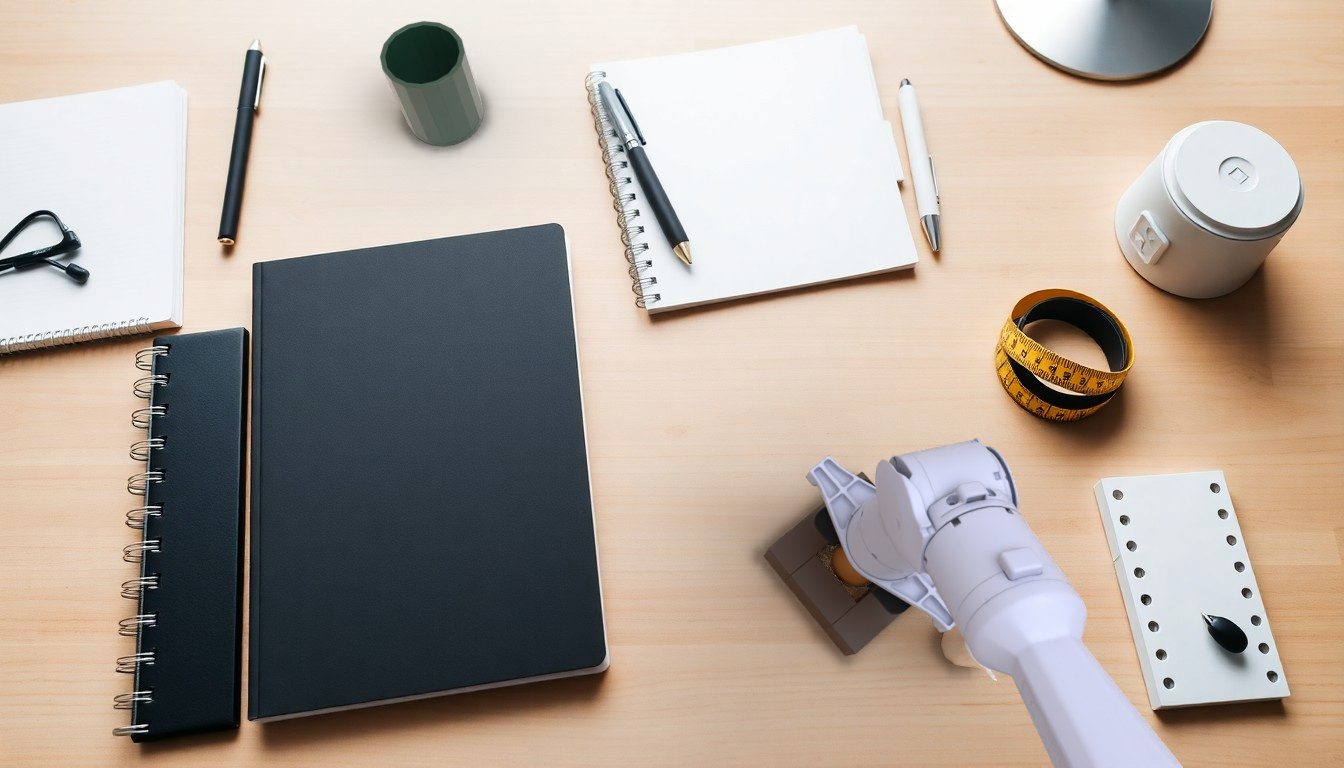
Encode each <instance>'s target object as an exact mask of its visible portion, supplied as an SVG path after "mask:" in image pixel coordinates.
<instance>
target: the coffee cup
mask: <svg viewBox="0 0 1344 768" xmlns="http://www.w3.org/2000/svg"><path fill="white" fill-rule="evenodd" d="M379 60H380V65H381V68H382V72H383V74H384V76H385V78H386V80H387V83H388V84H389V87H390V89H391V91H392V94H393V96H394V98H395V100H396V102H397V104H398V106H399V108H400V110H401V113H402V115H403V116H404V119H405V122H406V124H407V126H408V127H409V128H410V130H411V132H412V133H413V135H414V136H415V137H416V138H418V139H419V140H420V141H422V142H424V143H426V144H428V145H432V146H438V147H448V146H453V145H457V144H459V143H463V142H464V141H466V140H467V139H469V138H470V137H472V136H473V135H474V134H475V133H476V132H477V131H478V129H479V128H480V127H481V124H482V122H483V119H484V105H483V102H482V99H481V95H480V91H479V88H478V86H477V83H476V79H475V76H474V73H473V70H472V65H471V64H470V60H469V57H468V55H467V52H466V48H465V44H464V42H463V38H461V36H459V34H458V33H457V32H456V30H454V29H453V28H452V27H449V26H448V25H446V24H443V23H441V22H440V21H439V22H438V21H427V20H421V21H417V22H413V23H412V22H411V23H408V24H405V25H404V26H402V27H400V28H399V29H397V30H395V31H394V32H392V33H391V34H390V36H389V37H388V38H387V39H386V41H385V42H384V43H383V45H382V49H381V51H380V56H379Z"/></svg>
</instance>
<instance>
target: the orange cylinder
mask: <svg viewBox="0 0 1344 768" xmlns="http://www.w3.org/2000/svg"><path fill="white" fill-rule="evenodd" d="M830 567H831V570H832V574H833V575H834V576H835V577H836V579H837V580H838V581H839V582H840V583H841V584H844V585H846V586H848V587H852V588H859V587H864V586H867V585H869V584H870V583H871V582H872V581H870V580H868V579H867V578H865V577H864V576H862V575H861V574H859V573H858V572H857V571H856V570H855V569H854V568H853V566H852V565H851V564H850V562H849V561H848V559H847V557H846V555H845V552H844V550H843V547H842V545H841V542H840V543H839V544H838V545H836V546H835V547H833V550H832V552H831V555H830Z"/></svg>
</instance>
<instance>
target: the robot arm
mask: <svg viewBox="0 0 1344 768" xmlns="http://www.w3.org/2000/svg"><path fill="white" fill-rule="evenodd" d="M805 479H806V480H807V481H808V483H810V484H811V485H812V486H813V487H817V489H818V491H819V493H820V495H821V497H822V499H823V503H824V502H825V505H826V506H825V507H824V508H823V509H821V510H820V511H819V512H818V513H817V514H816V516H815V518H814V522H813V523H814V525H815V527H816V529H817V530H818V531H819V532H820V534H821V535H822V536H823V537H824V538H825V539H826V541H827V542H828V543H829V544H828V545H830V546H832V548H835V547H836V546H837V545H838V544H839V543H840V542H841V545H842V547H843V550H844V552H845V555H846V557H847V559H848V561H849V562H850V564H851V565H852V566H853V568H854V569H855V570H856V571H857V572H858V573H859V574H861V575H862V576H864V577H865V578H867V579H868V580H870V581H872V582H870V583H868V584H867V585H866V587H867V589H868V590H870V591H871V593H872V594H873V596H874V597H875V598H876V599H877V600H878V601H879V603H880V604H881V605H882V606H883V607H884V608H885V610H886V611H887V612H889V613H890V614H892V615H896V614H900V615H902V614H904V613H905V612H906V611H907V610H908V609H910V608H911V607H914V608H915V609H916V610H918V611H920V612H922V613H924V614H925V615H927V616H928V617H930V618H931V624H932V625H933V627H935V629H937V631H938V632H939V633H944V632H945V631H949V630H951V629H952V628H953V627H954V626H955V625H956V626H957V627H958V629H959V631H960V633H961V635H962V637H963V638H964V640H965V642H966V644H967V645H968V647H969V649H970V651H971V653H972V655H973V657H974V658H975V659H976V661H977V662H979V663H980V664H981V665H983V666H985V667H986V668H989V669H991V670H994V671H997V672H996V673H1000V674H1003V675H1007V676H1010V677H1011V678H1012V681H1013V682H1014V684H1015V687H1016V689H1017V691H1018V693H1019V695H1020V697H1021V699H1022V702H1023V704H1024V706H1025V709H1026V710H1027V712H1028V715H1029V716H1030V719H1031V721H1032V723H1033V725H1034V727H1035V729H1036V731H1037V733H1038V736H1039V738H1040V741H1041V743H1042V744H1043V746H1044V749H1045V751H1046V753H1047V755H1048V757H1049V760H1050V762H1051V764H1052V766H1053V768H1184V766H1183V765H1182V764H1181V763H1180V761H1179V760H1178V759H1177V757H1176V756H1175V755H1174V754H1173V753H1172V750H1170V749H1169V747H1168V746H1167V745H1166V743H1164V741H1163V740H1162V739H1161V737H1160V736H1159V735H1158V734H1157V732H1156V731H1155V730H1154V729H1153V728H1152V726H1151V725H1150V724H1149V723H1148V722H1147V721H1146V719H1145V718H1144V717H1143V715H1142V714H1141V713H1140V712H1139V710H1138V709H1137V708H1136V707H1135V706H1134V704H1133V703H1132V701H1131V700H1130V699H1129V698H1128V697H1127V696H1126V694H1125V693H1124V692H1123V690H1122V689H1120V687H1119V686H1118V684H1116V682H1115V680H1114V679H1112V677H1111V676H1110V675H1109V674H1108V672H1107V671H1106V670H1105V669H1104V667H1103V666H1102V665H1101V663H1100V662H1099V661H1098V659H1096V657H1095V656H1094V655H1093V654H1092V652H1091V651H1090V649H1088V647H1087V646H1086V645H1085V644H1084V642H1083V641H1082V639H1083V635H1084V632H1085V628H1086V625H1087V621H1088V620H1087V618H1088V611H1087V606H1086V604H1085V602H1084V600H1083V599H1082V597H1081V596H1080V595H1079V593H1078V592H1077V591H1076V589H1075V588H1074V586H1073V585H1072V583H1071V582H1070V580H1069V579H1068V578H1067V577H1066V575H1065V573H1063V571H1062V569H1060V567H1059V566H1058V564H1057V563H1056V561H1055V560H1054V559H1053V557H1052V556H1051V555H1050V553H1049V552H1048V550H1047V549H1046V547H1045V546H1044V545H1043V543H1042V542H1041V541H1040V539H1039V538H1038V536H1037V535H1036V533H1035V532H1034V530H1033V529H1032V528H1031V527H1030V525H1029V524H1028V523H1027V521H1026V519H1025V518H1024V516H1023V515H1022V514H1021V512H1020V500H1019V493H1018V488H1017V484H1016V480H1015V478H1014V476H1013V471H1012V469H1011V467H1010V465H1009V464H1008V462H1007V460H1006V459H1005V457H1004V455H1003V454H1002V453H1001V452H1000V451H999V450H998V449H996V448H995V447H993V446H991V445H984V444H983V443H982V441H981V440H980V438H979V437H975V438H974V439H971V440H966V441H965V440H964V441H961V442H955V443H951V444H945V445H940V446H937V447H932V448H925V449H922V450H921V449H920V450H916V451H913V452H906V453H902V454H897V455H893V456H892V457H890V459H889V460H886V459H881V460H880V461H878V463H877V465H876V469H875V476H874V480H875V482H874V483H873V481H872V480H871V481H869V480H866V479H861V478H859V477H857V474H854V473H852V472H851V471H849V470H847V469H845V468H844V467H843V466H841V465H840V464H839V463H838V462H837V461H836V460H834V459H833V457H832V456H831V455H829V454H828V455H827V456H825V457H824V458H823V459H822V460H820V461H819V462H818V463H816V464H815V465H814V466H813V467H812V468H810V469H809V471H808V472H807V474H806V476H805ZM901 613H902V614H901Z"/></svg>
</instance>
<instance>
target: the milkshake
mask: <svg viewBox="0 0 1344 768" xmlns="http://www.w3.org/2000/svg"><path fill="white" fill-rule="evenodd" d="M940 646H941V650H942V652H943V655H944V657H945V658H946V659H947V660H948V661H950V662H951V663H952V664H953V665H954V666H959V667H960V666H961V667H967V668H968V667H969V668H975V669H980V670H985V671H986V672H987V674H988V676H989V678H990V679H991V680H994V681H996V682H998V679H997V677H996V675H995V674H994V672H995V673H998V672H997V671H994V670H991V669H989V668H986V667H985V666H983V665H981V664H980V663H979V662H977V661H976V659H975V658H974V657H973V655H972V653H971V651H970V649H969V647H968V645H967V644H966V642H965V640H964V638H963V637H962V635H961V633H960V631H959V629H958V627H957V626H956V625H955V626H954V627H953V628H952V629H951V630H949V631H945V632H943V634H942V638H941V642H940Z"/></svg>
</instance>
